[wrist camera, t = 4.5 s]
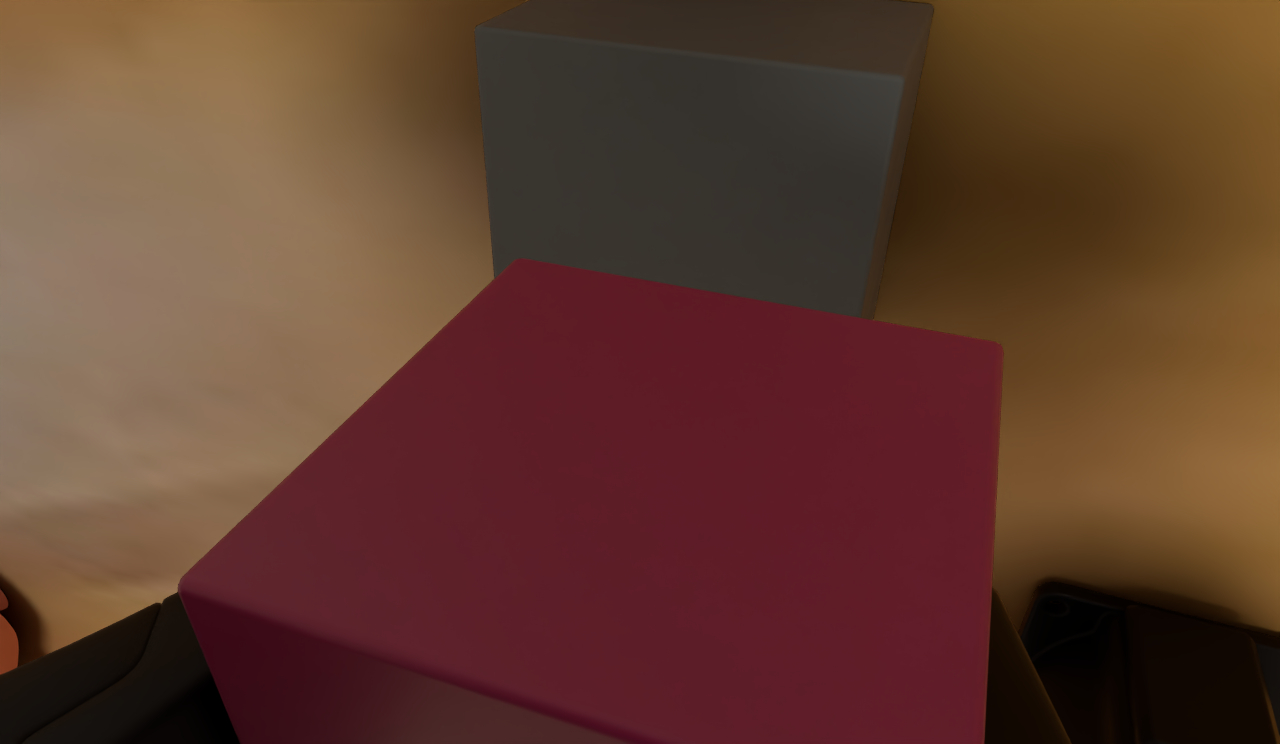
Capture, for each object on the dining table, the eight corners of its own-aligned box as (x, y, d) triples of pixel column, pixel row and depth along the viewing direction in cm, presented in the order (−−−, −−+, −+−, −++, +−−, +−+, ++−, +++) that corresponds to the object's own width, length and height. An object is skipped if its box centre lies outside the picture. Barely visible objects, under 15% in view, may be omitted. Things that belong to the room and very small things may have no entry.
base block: (872, 323, 21) (836, 453, 17) (591, 269, 23) (500, 375, 19) (935, 3, 17) (906, 77, 13) (587, -31, 19) (471, 25, 15)
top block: (911, 684, 11) (845, 1183, 7) (541, 579, 12) (318, 948, 9) (1006, 339, 8) (981, 851, 4) (516, 252, 10) (165, 582, 6)
